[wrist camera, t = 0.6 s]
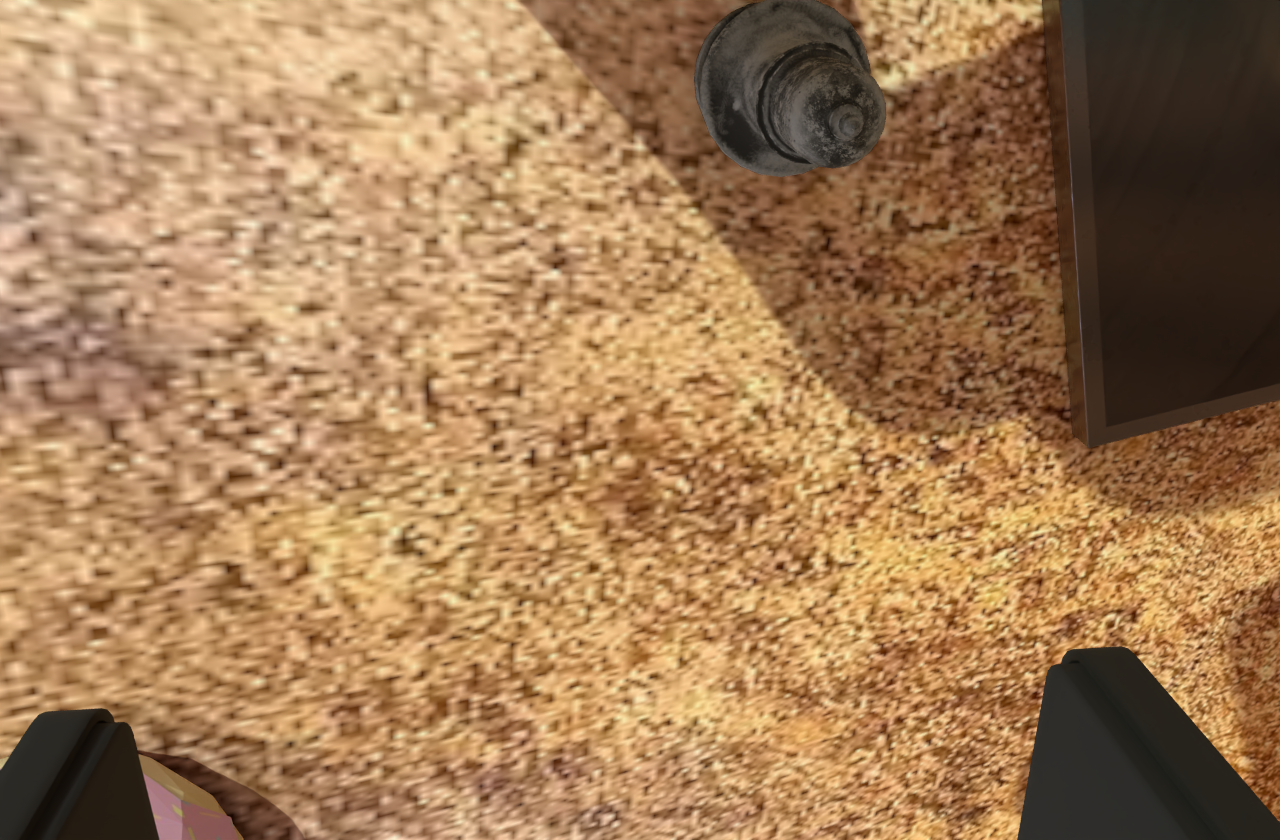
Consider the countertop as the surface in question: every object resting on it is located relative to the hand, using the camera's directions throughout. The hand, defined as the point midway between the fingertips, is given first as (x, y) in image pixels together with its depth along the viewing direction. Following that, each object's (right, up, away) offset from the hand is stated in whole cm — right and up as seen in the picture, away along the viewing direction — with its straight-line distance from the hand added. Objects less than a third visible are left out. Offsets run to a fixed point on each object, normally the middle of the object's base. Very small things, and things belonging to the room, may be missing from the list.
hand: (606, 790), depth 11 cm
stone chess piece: (+5, +17, +28) cm, 33 cm away
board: (+24, +15, +31) cm, 42 cm away
